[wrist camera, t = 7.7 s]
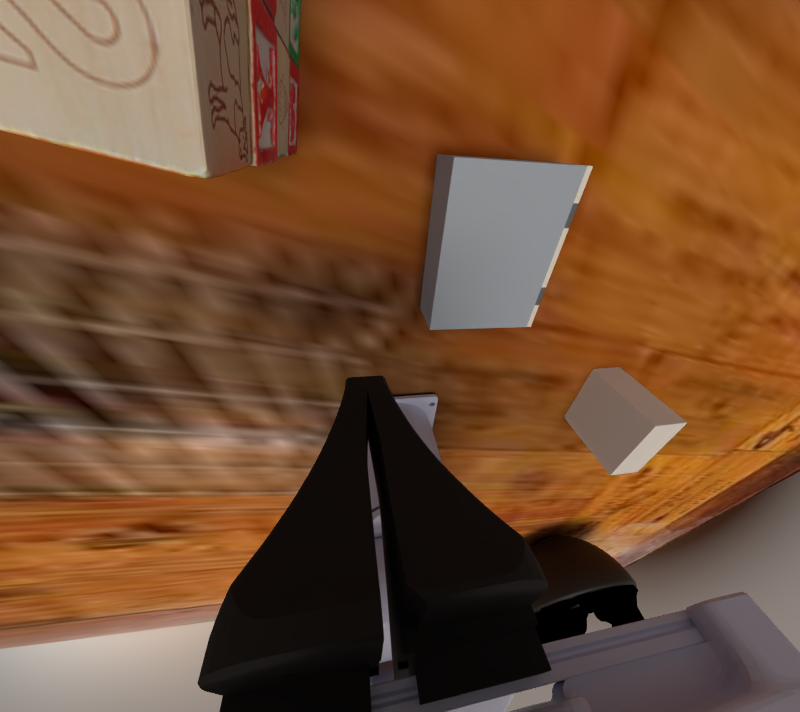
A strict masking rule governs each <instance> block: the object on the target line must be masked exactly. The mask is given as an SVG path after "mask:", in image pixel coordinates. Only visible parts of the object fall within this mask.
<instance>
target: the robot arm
mask: <svg viewBox="0 0 800 712" xmlns="http://www.w3.org/2000/svg"><path fill="white" fill-rule="evenodd" d="M437 402H438V397H437V395H435V394H426V395H412V396H398V397H393V395H392V393H391V391H390V389H389V387H388V385H387V383H386V380H385V378H384V377H383V376H368V377H352V378H348V379H347V380H346V385H345V391H344V395H343V398H342V402H341V405H340V408H339V411H338V413H337V416H336V419H335V421H334V424H333V426H332V429H331V431H330V433H329V435H328V438H327V440H326V442H325V444H324V446H323V448H322V450H321V452H320V454H319V456H318V458H317V460H316V462H315V464H314V466H313V468H312V469H311V471H310V473H309V475H308V476H307V478H306V480H305V481H304V483H303V485H302V486H301V488H300V490H299V491H298V493H297V495H296V496H295V498H294V499H293V501H292V502H291V504H290V505H289V507H288V508H287V510H286V511H285V513H284V514H283V516H282V517H281V519H280V520H279V521H278V523H277V524H276V526H275V527H274V529H273V530H272V532H271V533H270V534H269V536H268V537H267V539H266V540H265V541H264V543H263V544H262V545H261V547H260V548H259V549H258V551H257V552H256V553H255V554H254V556H253V557H252V558H251V560H250V561H249V562H248V563H247V565H246V566H245V567H244V569H243V570H242V571H241V573H240V574H239V575H238V576H237V578H236V579H235V580H234V582H233V583H232V584H231V586H230V588H229V590H228V592H227V594H226V597H225V599H224V601H223V603H222V606H221V608H220V610H219V613H218V615H217V618H216V621H215V623H214V626H213V629H212V632H211V635H210V638H209V641H208V645H207V649H206V653H205V657H204V660H203V665H202V668H201V672H200V676H199V680H198V685H199V687H200V688H201V689H202V690H204V691H207V692H212V693H215V694H219V695H223V698H222V703H221V708H220V712H505V711H506V709H507V707H508V706H509V704H510V702H511V700H512V698H513V696H514V694H515V693H517V692H521V691H525V690H529V689H532V688H536V687H540V686H544V685H548V684H551V683H555V682H556V683H555V684H554V686H553V689H552V690H553V691H552V693H553V695H552V699H551V701H548V702H544V703H540V704H535V705H531V706H528V707H524V708H520V709H517V710H514V711H510V712H800V653H799V651H798V650H797V649H796V648H795V647H794V646H793V644H792V643H791V642H790V641H789V640H788V639H787V638H786V637H785V636H784V634H783V633H782V632H781V631H780V630H779V629H778V628H777V627H776V625H775V624H774V623H773V622H772V621H771V620H770V619H769V618H768V616H767V615H766V614H765V613H764V612H763V611H762V610H761V609H760V607H759V606H758V605H757V604H756V603H755V602H754V601H753V600H752V598H751V597H750V596H749V595H748V594H746V593H744V592H739V593H734V594H730V595H726V596H722V597H717V598H714V599H709V600H706V601H703V602H700V603H697V604H694V605H692V606H689V607H687V608H686V610H683V611H679V612H675V613H670V614H667V615H662V616H658V617H654V618H649V619H645V620H641V621H637V622H633V623H629V624H624V625H620V626H616V627H612V628H608V629H604V630H599V631H595V632H591V633H587V634H583V635H578V636H574V637H570V638H566V639H562V640H557V641H553V642H549V643H545V644H541V641H540V639H539V636H538V634H537V631H536V628H535V626H536V625H538V622H537V618H536V616H535V613H534V611H533V608H532V606H531V604H533V603H534V602H535V601H536V600H538V599H539V598H540V597H541V596H543V595H544V594H545V592H546V591H547V589H548V581H547V579H546V577H545V575H544V573H543V571H542V568H541V566H540V564H539V562H538V561H537V559H536V557H535V556H534V554H533V552H532V550H531V549H530V547H529V545H528V544H527V542H526V540H525V539H524V538H523V537H522V536H521V535H520V534H519V533H517V532H516V531H515V530H514V529H512V528H511V527H510V526H509V525H507V524H506V523H505V522H504V521H502V520H501V519H500V518H499V517H498V516H497V515H495V514H494V513H493V512H492V511H491V510H489V509H488V508H487V507H486V506H485V505H484V504H483V503H482V502H480V501H479V500H478V499H477V498H476V497H475V496H474V495H473V494H472V493H471V492H470V491H469V490H468V489H467V488H466V487H465V486H464V485H463V484H462V483H460V482H459V481H458V480H457V479H456V478H455V477H454V476H453V475H452V474H451V473H450V472H449V471H448V469H447V468H446V467H445V466H444V465H443V463H442V460H441V457H440V454H439V450H438V447H437V444H436V441H435V438H434V434H433V431H432V427H433V422H434V417H435V412H436V407H437Z"/></svg>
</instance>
